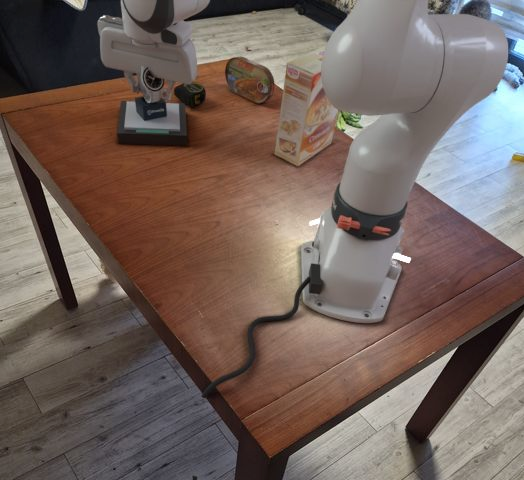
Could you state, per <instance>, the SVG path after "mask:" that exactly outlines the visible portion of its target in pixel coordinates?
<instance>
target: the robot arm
mask: <svg viewBox="0 0 524 480" xmlns="http://www.w3.org/2000/svg"><path fill="white" fill-rule="evenodd" d="M210 3H211V0H120V7H121V8H120V9H121V17H119V16H111V15H108V14H103V15H102V16H100V17H99V18H98V20H97V23H96V25H97V31H98V35H99V41H100V42H99V49H100V51H99V52H100V61H101V62H102V64H103V65H104V67H105V68H109V69H114V70H118V71H123V76H124V78H125V79H126V81H127V82H128V84H129V86H130V92H131V93H132V94H136V95H138V94H139V93H141V91H140V83H138V81H136V78H135V76H134V74H136V75H137V74H141V66H143V67H145V68H146V67H148V68H149V69H150V70H149V71H150V72H151V74H152V75H153V76H155V77H156V78H161V79H165V84H166V85H167V86H168V87H167V88H163V93H162V94H161V96H162V99H163V100H164V101H171V99H172V98H173V97H172V96H173V95H172V90H173V88H175V85H176V83H179V84H182V83H184V84H191V83H192V82H195V80H196V78H197V76H198V59H197V58H198V57H197V50H196V47H195V44H194V42H193V41H192V40H191V37H192V34H193V27H192V25H191V24H190V23H188V22H187V21H184V20H186V19H189V18H190V17H192V16H195V15H197V14H198V13H200V12H202V11H204V10H205V9H206V8H208V6H209V5H210ZM428 5H429V0H356V2H355V4H354V6H353V8H352V9H351V11H350V12H349V14H348V15H347V16H346V18H344V20H343V21H342V22H341V23H340V24H339V25H338V26H337V27H336V28H335V30H334V31H333V32H332V34H331V36H330V37H329V39H328V41H327V43H326V44H325V45H326V47H325V50H324V53H323V57H322V63H321V78H322V85H323V88H324V91H325V94H326V96H327V98H328V100H329V101H330V103H331V104H332V105H333V106H334V108H336V109H337V110H339V111H340V112H344V113H349V114H354V115H360V116H368V117H374V116H375V117H377V116H378V118H377V119H376V120H375V121H373V122H372V123H370V124H369V125H368V126H367V127H365V128H363V130H361V131H360V132H358V134H357V135H356V136H355V137H354V139H353V140H352V142H351V144H350V146H349V149H348V152H347V153H348V154H347V156H346V160H345V164H344V168H343V171H342V175H341V179H340V182H338V184H337V185H336V189H335V191H334V193H333V196H332V202H331V207H329V208H327V209H325V210H324V211H322V212H320V216H319V218H317V219H314V220H310V221H309V226H313V225H316V224H317V227H316V231H315V235H314V238H313V240H310V241H306V242H304V243H302V245H301V248H300V265H301V266H300V267H301V284H300V285H299V287H297V289H296V292H295V294H294V300H293V307H292V309H291V310H290V311H289V312H287V313H285V314H281V315H268V316H266V315H265V316H261V317H258V318H256V319H254V320H253V321H252V322H251V323H250V324H249V326H248V329H247V343H248V346H249V358H248V360H247V361H246V362H245V364H244V365H243V366H242V367H240V368H238V369H237V370H234V371H231V372H230V373H227V374H224V375H223V376H219V377H218V378H216V379H215V380H213V381H212V382H211V383H209V385H208V386H207V387H206V388H205V389H204V391H203V392H202V393H201V398H202V399H206V398H207V397H209V395H210V394H211V392H212V391H213V390H214V389H215V388H216V387H218V386H219V385H221V384H223V383H225V382H227V381H229V380H231V379H234V378H236V377H238V376H241V375H242V374H244V373H245V372H247V371H248V370H249V369H250V368H251V367H252V365H253V363H254V361H255V357H256V347H255V342H254V336H253V335H254V333H253V332H254V329H255V327H256V326H257V325H259V324H261V323H265V322H275V321H276V322H278V321H283V320H288V319H290V318H292V317H293V316H295V314H296V313H297V312H298V310H299V306H300V298H301V295H302V303H304V304H305V305H306V306H307V307H308V308H310V309H311V310H313V311H315V312H317V313H319V314H321V315H324V316H326V317H329V318H333V319H336V320H337V319H338V320H341V321H344V322H345V321H346V322H351V323H356V324H375V323H380V322H382V321H383V320H384V318H385V315H386V312H387V310H388V307H389V305H390V302H391V299H392V296H393V294H394V291H395V289H396V286H397V283H398V280H399V278H400V275H401V272H402V269H403V267H402V265H401V264H400V263H399V262H398V260H399V261H402V262H405V263H408V264H409V263H410V262H411V260H412V258H411V257H408V256H406V255H403V254H402V252H403V250H404V248H403V247H402V246H400V243H401V241H402V239H403V236H404V234H405V230H404V228H403V227H402V223H403V221H404V219H405V216H406V213H407V209H408V204H409V203H408V199H409V196H410V194H411V193H412V189H413V188H414V185H415V182H416V181H417V178H418V176H419V174H420V172H421V171H422V170H421V169H422V168H423V166H424V164H425V162H426V161H427V159H428V157H429V156H430V155H431V153H432V151H433V150H434V149H435V147H436V146H437V145H438V143H439V142H441V140H442V138H443V137H444V136H445V135H446V134H447V132H448V131H449V130H450V129H451V128H452V127H453V126H454V125H455V124H456V123H457V122H458V121H459V119H460V118H461V117H462V116H463V115H465V114H466V113H467V112H468V111H469V110H471V109H472V108H473V107H475V106H476V105H477V104H478V103H481V102H482V101H483V100H485V99H486V98H488V97H489V96H490V95H491V94H492V93H493V92H494V91H495V90H496V89H497V88H498V86H499V85H500V82H501V81H502V79H503V77H504V74H505V73H506V68H507V65H508V59H509V42H508V38H507V35H506V33H505V31H504V29H503V27H501V26H500V24H498V23H496V22H494V21H491V20H488V19H486V18H482V17H479V16H476V15H473V14H468V13H438V14H436V13H435V14H433V13H431V14H429V12H428V11H429V10H428V9H429V7H428ZM191 477H192V480H198V476H196V475H193V474H192V476H191Z"/></svg>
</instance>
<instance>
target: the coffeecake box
mask: <svg viewBox="0 0 524 480" xmlns="http://www.w3.org/2000/svg"><path fill="white" fill-rule="evenodd" d="M326 45H327V44H325V45H324V46H321V47H319V48H316V49H314V50H312V51H310V52H307V53H305V54H303V55H301V56H298V57H297V58H294V59H293V60H292V59H291V60H289V61H288V62H286V67H285V68H286V69H285V76H284V82H283V89H282V96H281V102H280V103H281V104H280V110H279V111H280V112H279V118H278V125H277V132H276V140H275V146H274V153H273V154H274V155H275V156H277V157H279V158H281V159H283V160H284V161H286V162H288V163H290V164H292V165H294V166H296V167H300V166H301V165H302V164H304V163H305V162H306V161H308V160H309V159H311V158H312V157H314V156H315V155H316V154H318V153H319V152H321V151H322V150H324V149H326V148H327V147H328V146H329V145H332V141H333V136H334V133H335V130H336V129H335V127H336V126H337V125H336V124H337V120H338V116H339V110H337V109H336V108H334V106H333V105H332V104H331V103H330V101H329V100H328V98H327V96H326V94H325V91H324V88H323V85H322V78H321V63H322V57H323V53H324V50H325V47H326Z"/></svg>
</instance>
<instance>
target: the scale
mask: <svg viewBox="0 0 524 480" xmlns="http://www.w3.org/2000/svg"><path fill="white" fill-rule="evenodd" d="M166 109H167V116H166V117H161V118H156V119H151V120H146V121H144V120H143V119H142V118H141V117H140V115H139V114H138V113H137V112H136V104H135V100H120V105H119V113H118V122H117V123H118V124H117V132H116V135H117V142H118V144H119V145H122V144H123V145H124V144H125V145H150V146H151V145H155V146H181V147H182V146H183V147H184V146H186V147H187V146H188V129H187V111H186V104H185V103H184V102H166Z"/></svg>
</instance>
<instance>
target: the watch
mask: <svg viewBox="0 0 524 480" xmlns="http://www.w3.org/2000/svg"><path fill="white" fill-rule="evenodd" d="M149 70H150V69H149V68H148V67H146V68H145V67H143V66H141V74H137V73H136V79H137V82H138V83H140V93H141V94H142V96H137V97H134V101H135V104H136V112H137V113H138V114H139V115H140V117H141V118H142V119H143V120H144V121H146V120H151V119H156V118H161V117H166V116H167V109H166V103H167V101H166V100H164V99H163V97H162V93H163V90H164V86H165V84H166V80H165V79H161V78H156V77H155V76H153V75H152V74H151V72H150V71H149Z"/></svg>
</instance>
